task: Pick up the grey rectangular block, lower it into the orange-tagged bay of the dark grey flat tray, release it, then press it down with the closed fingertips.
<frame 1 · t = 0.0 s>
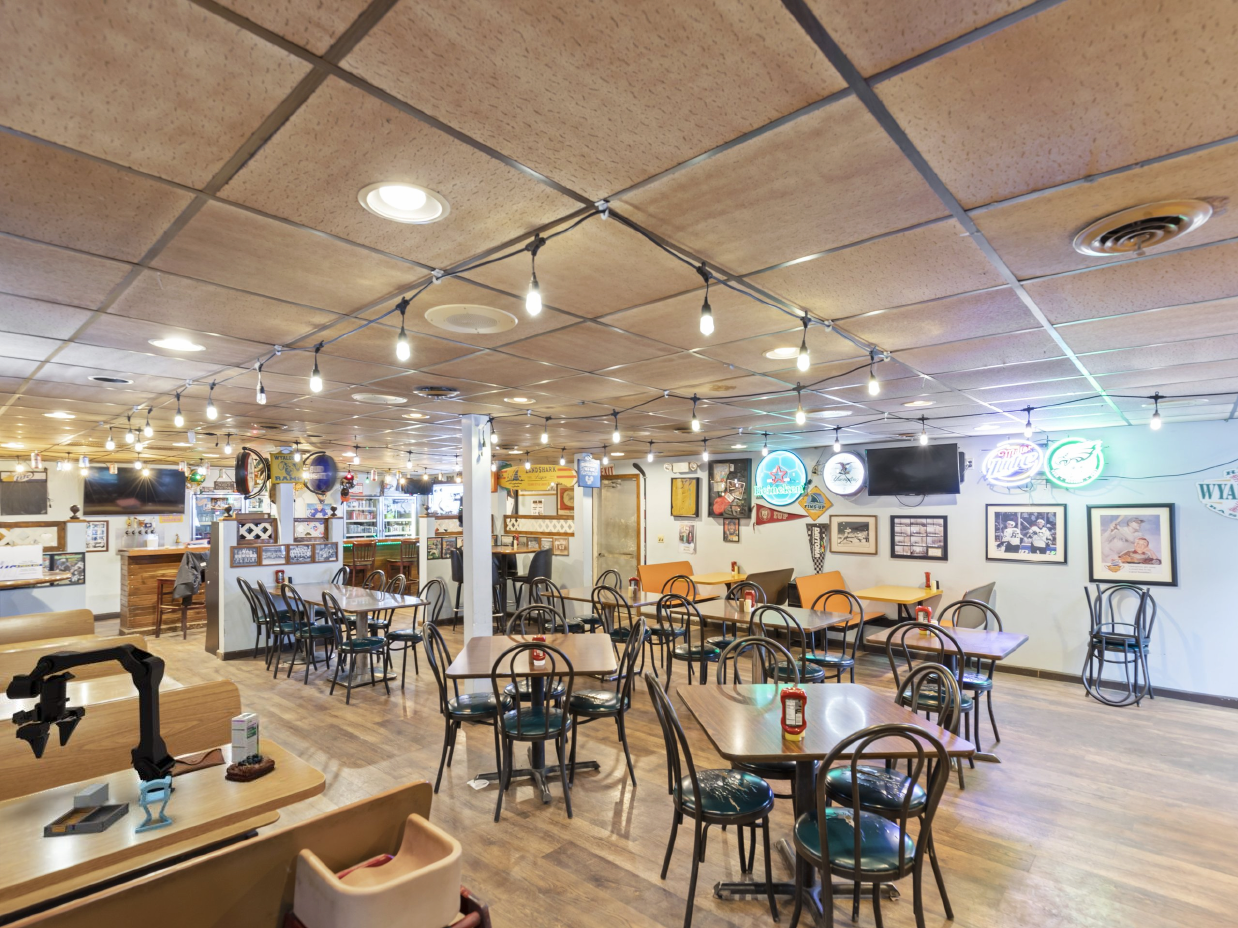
hand: (51, 751, 181), 15 cm above the table, fingers open, 9 cm apart
syrup box: (244, 759, 210), on the table
chair: (154, 823, 168), on the table
sunglasses case: (193, 769, 204), on the table
grey rectangular block: (91, 807, 178), on the table
dark grey flat tray: (87, 823, 168), on the table
pastry: (250, 775, 198), on the table
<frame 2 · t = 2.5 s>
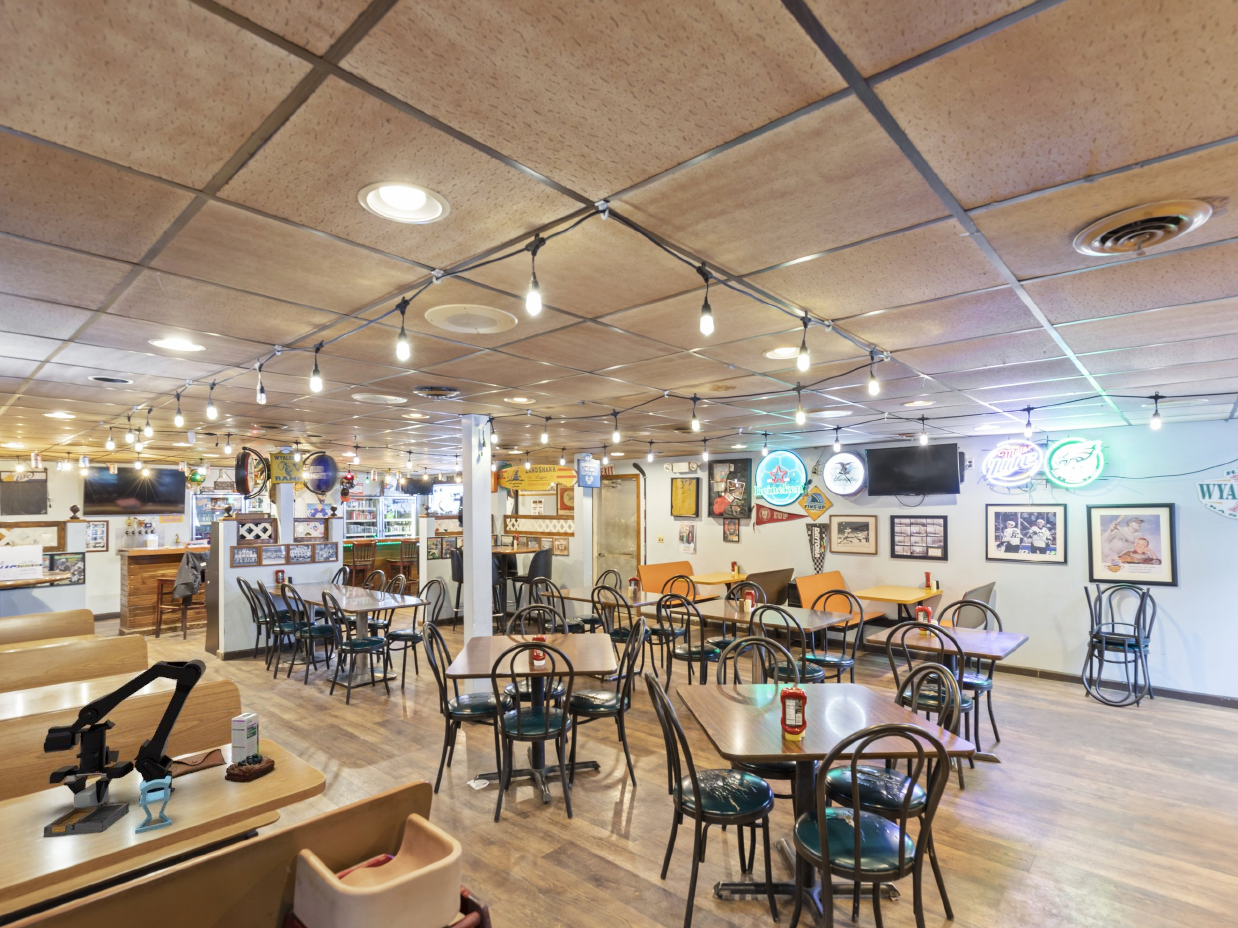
hand: (91, 802, 178), 1 cm above the table, fingers closed on grey rectangular block, 4 cm apart
grey rectangular block: (91, 806, 178), on the table, touching gripper
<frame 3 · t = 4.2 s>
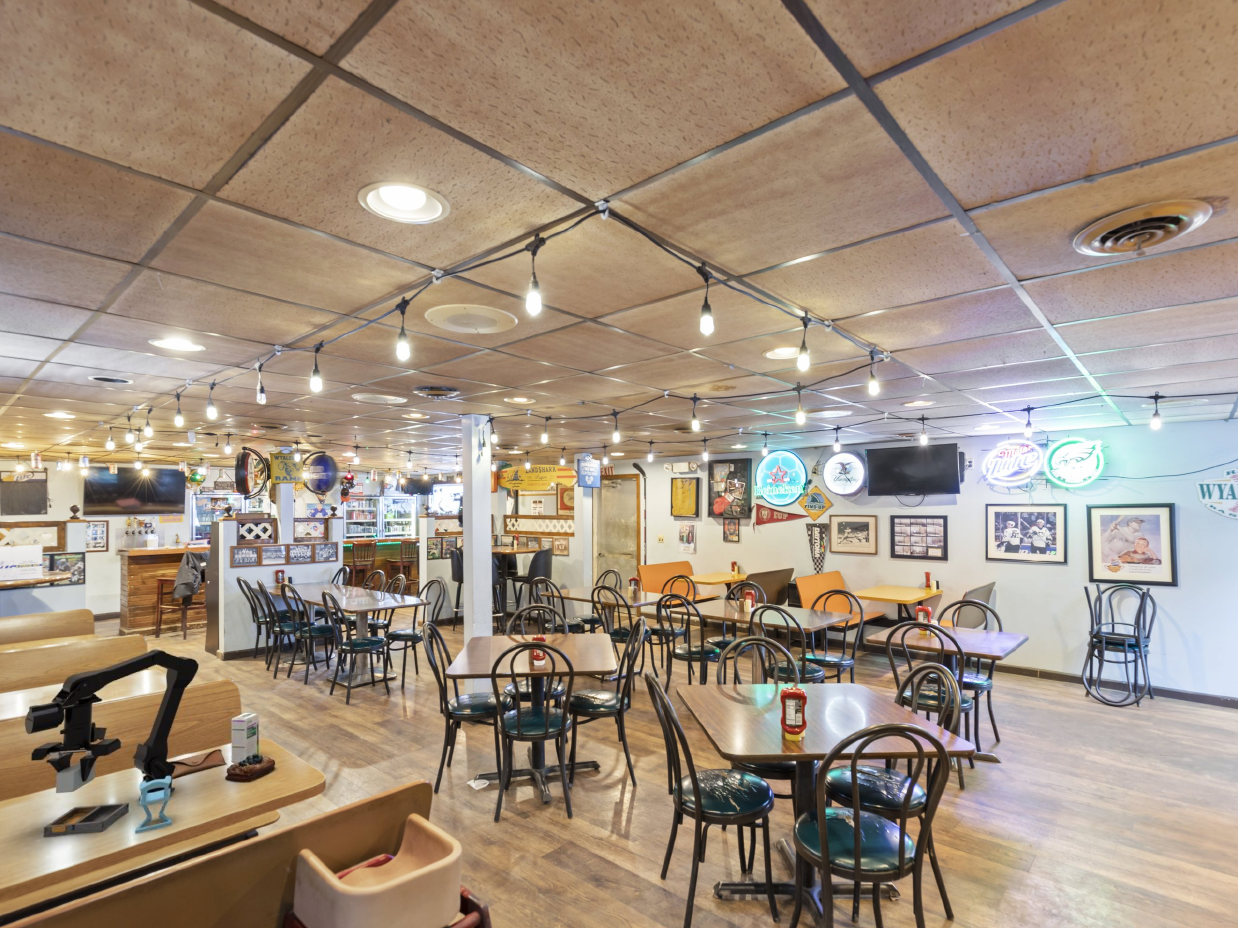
hand: (75, 781, 169), 11 cm above the table, fingers closed on grey rectangular block, 4 cm apart
grey rectangular block: (75, 785, 169), point 10 cm above the table, touching gripper
when the fingers open (4 cm above the table, at t = 5.8 s): grey rectangular block drops 2 cm, resting on dark grey flat tray.
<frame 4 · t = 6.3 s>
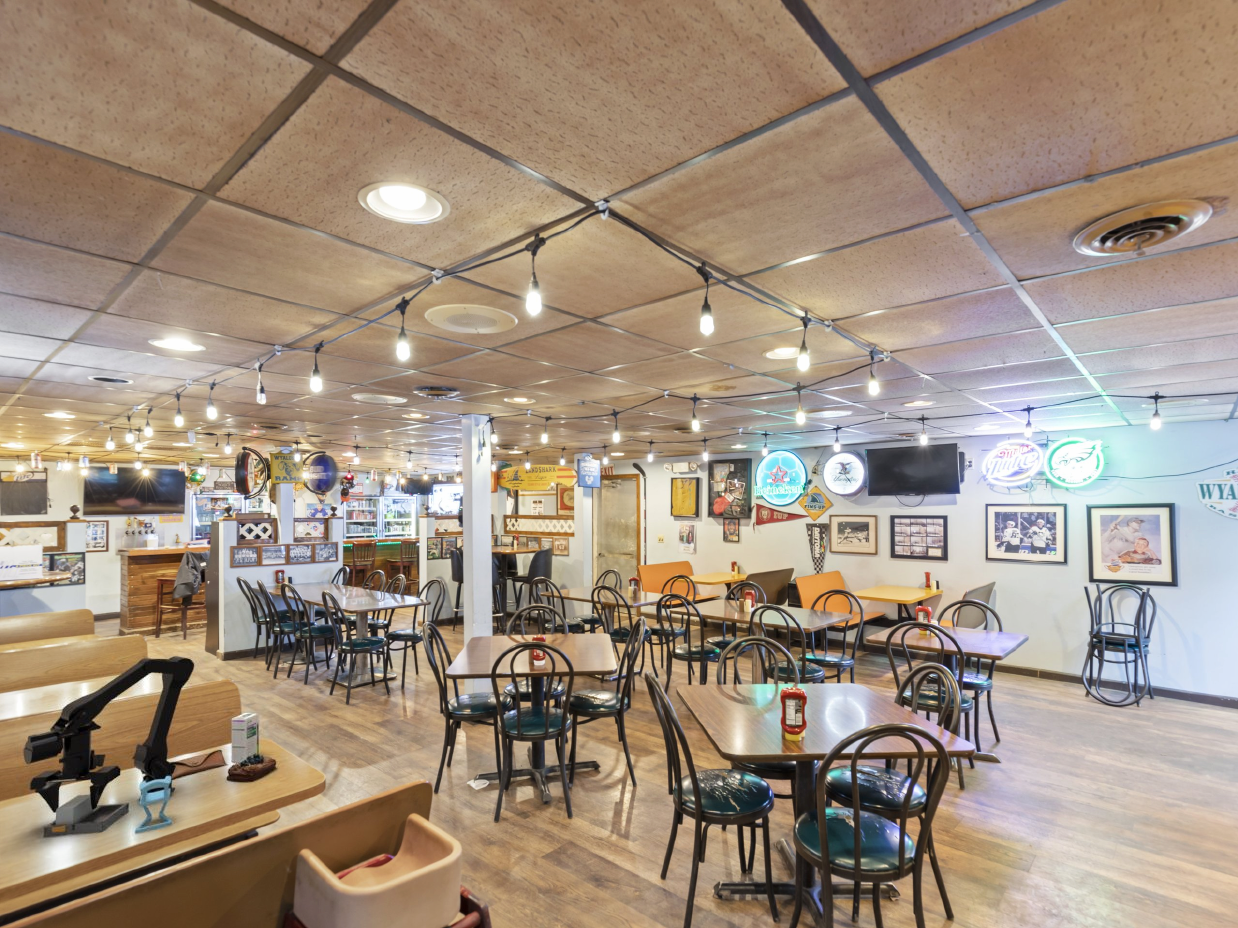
hand: (75, 810, 168), 4 cm above the table, fingers open, 9 cm apart
grey rectangular block: (74, 820, 168), point 1 cm above the table, touching dark grey flat tray
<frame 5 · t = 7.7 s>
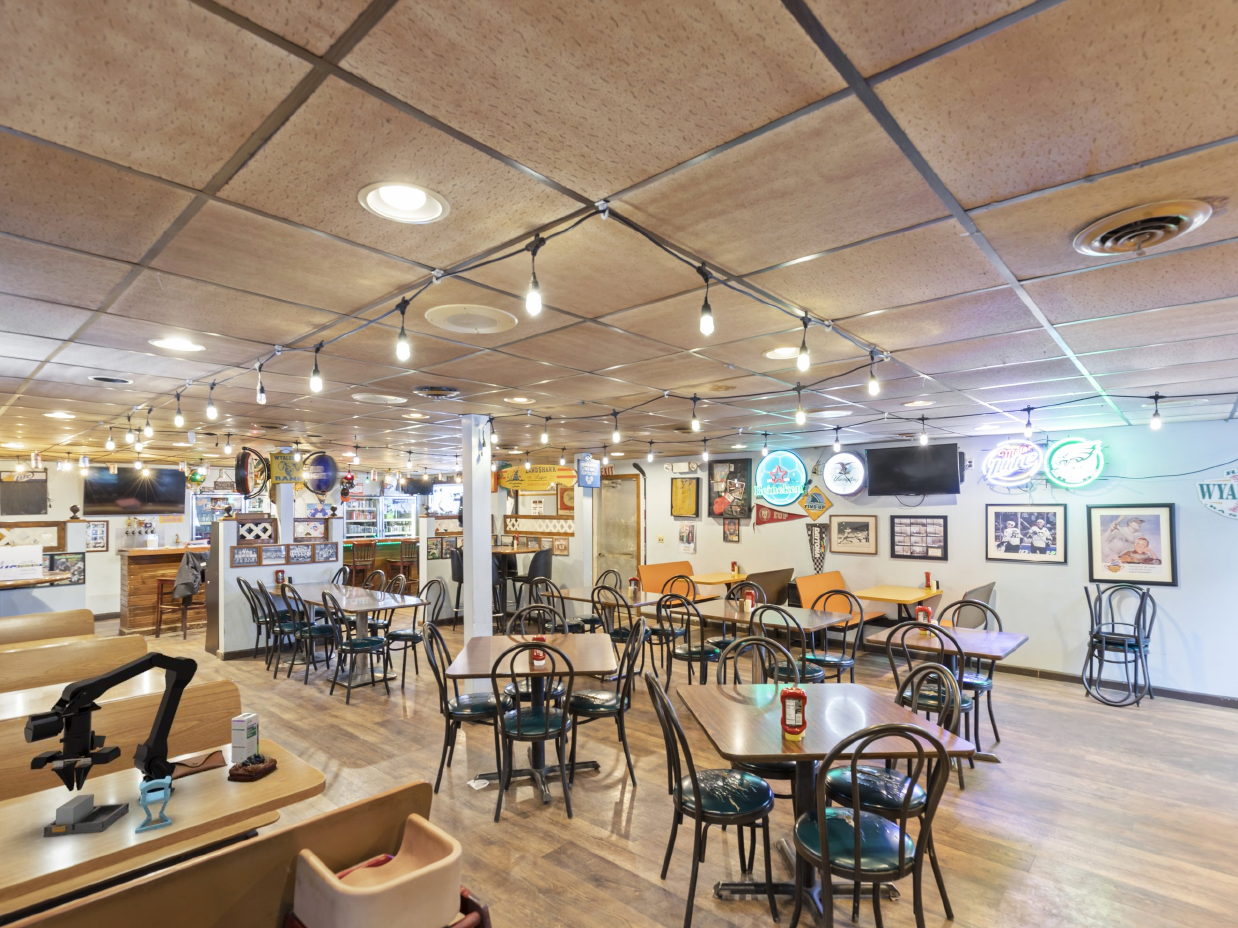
hand: (75, 790, 168), 9 cm above the table, fingers closed
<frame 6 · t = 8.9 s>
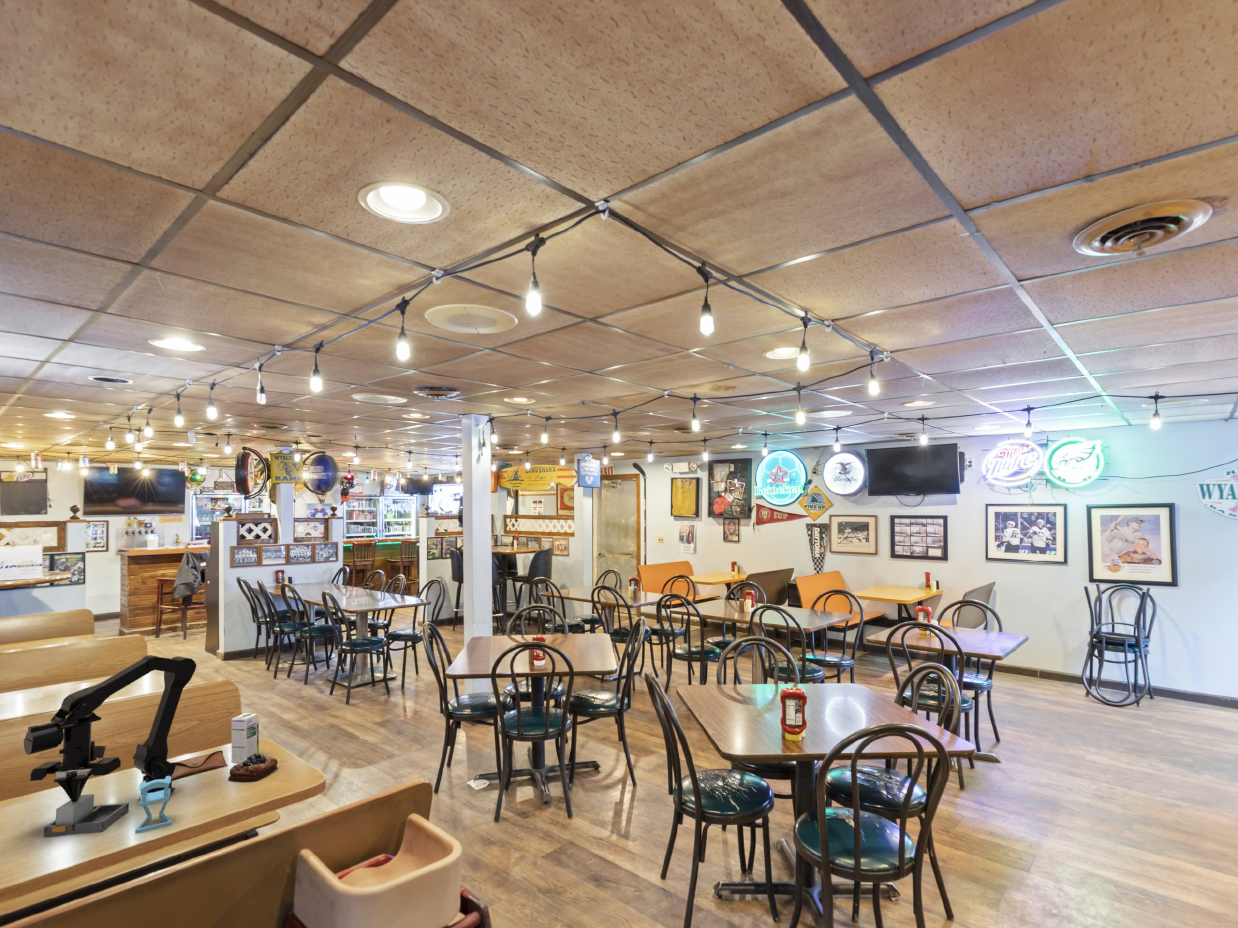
hand: (75, 801, 168), 6 cm above the table, fingers closed
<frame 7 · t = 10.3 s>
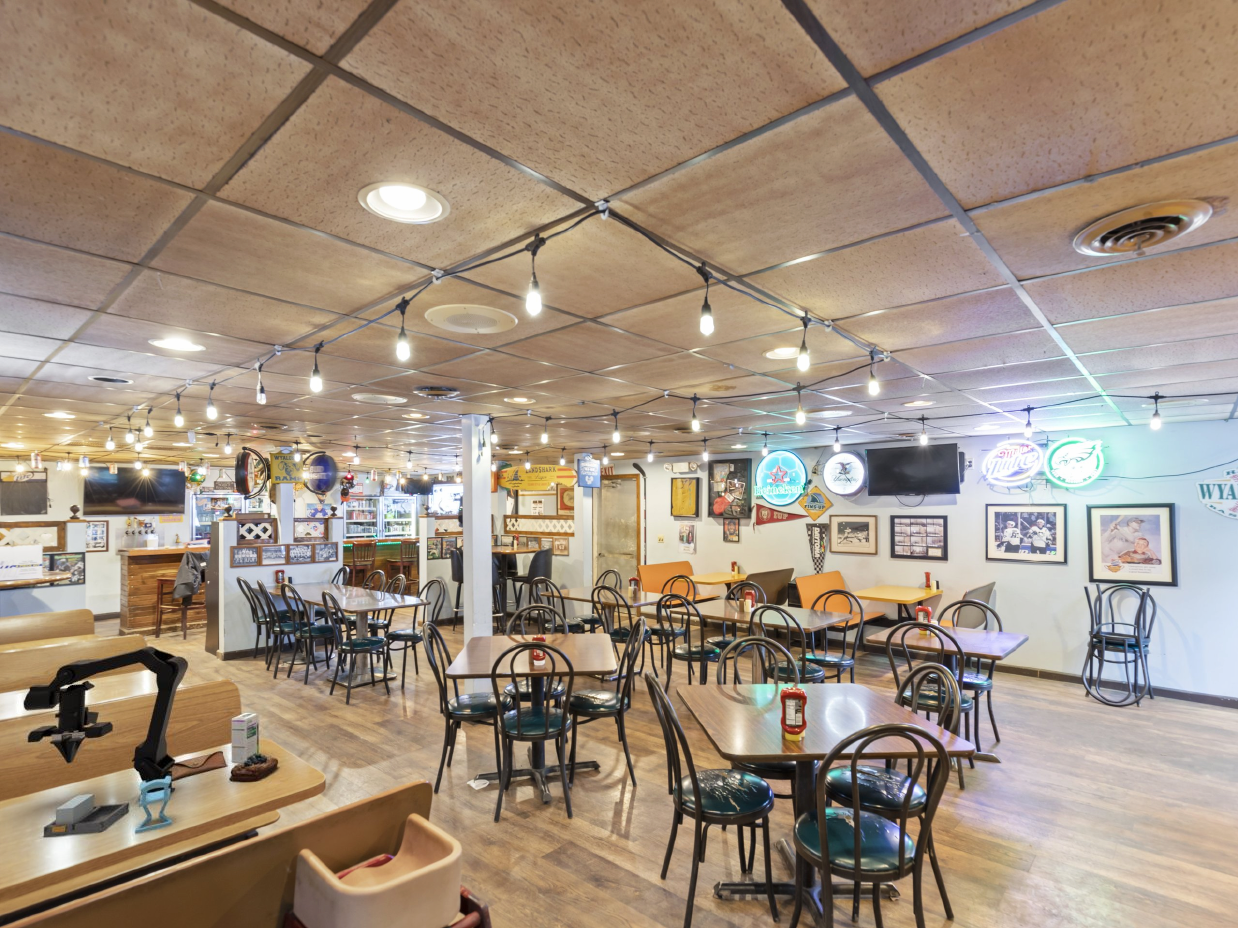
hand: (70, 762, 180), 12 cm above the table, fingers closed
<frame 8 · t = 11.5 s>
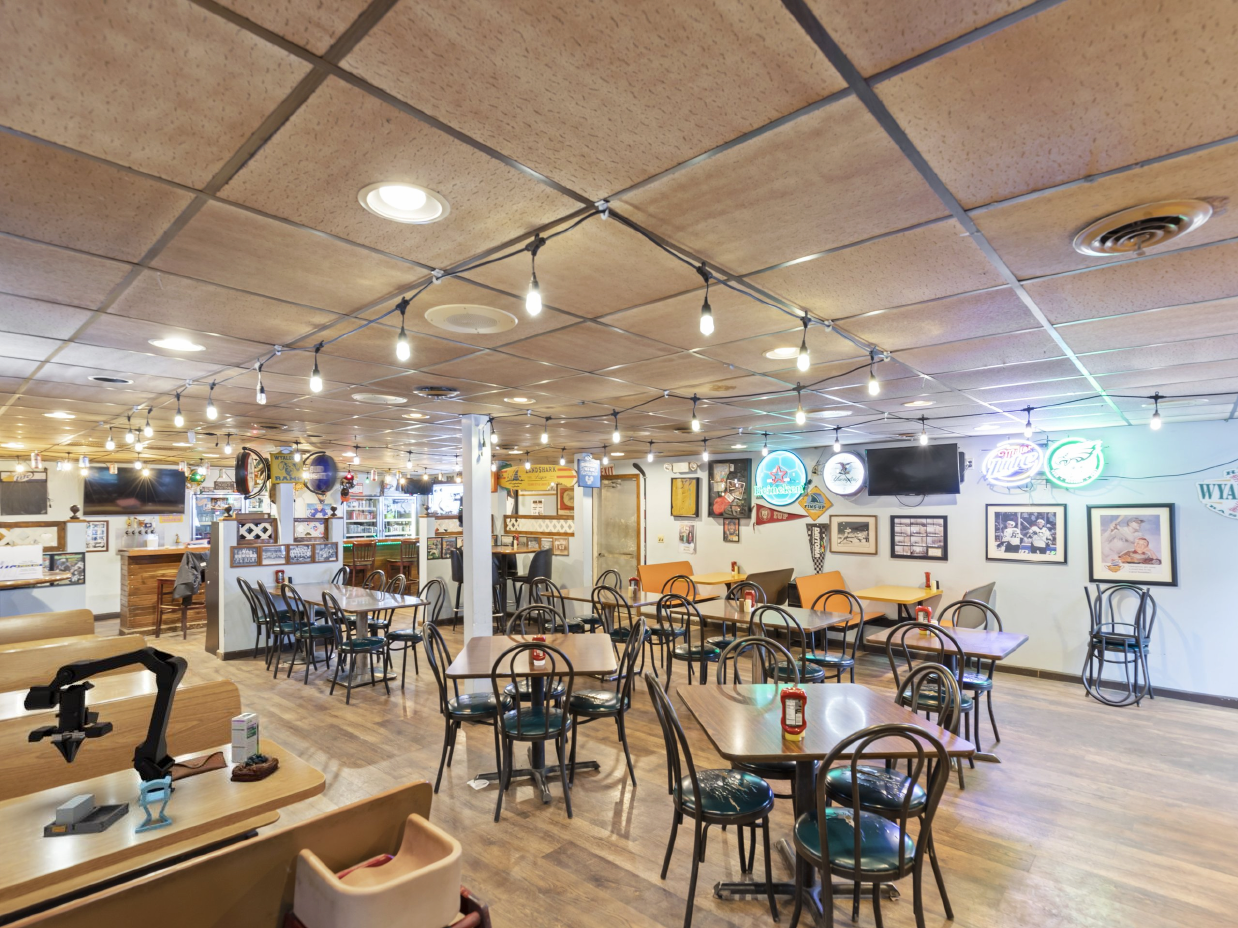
hand: (70, 762, 180), 12 cm above the table, fingers closed
at the end: grey rectangular block 0.2 cm from the target spot on the dark grey flat tray, point 1.1 cm above the dark grey flat tray's base; grey rectangular block tilted 0°; the gripper is holding nothing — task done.
